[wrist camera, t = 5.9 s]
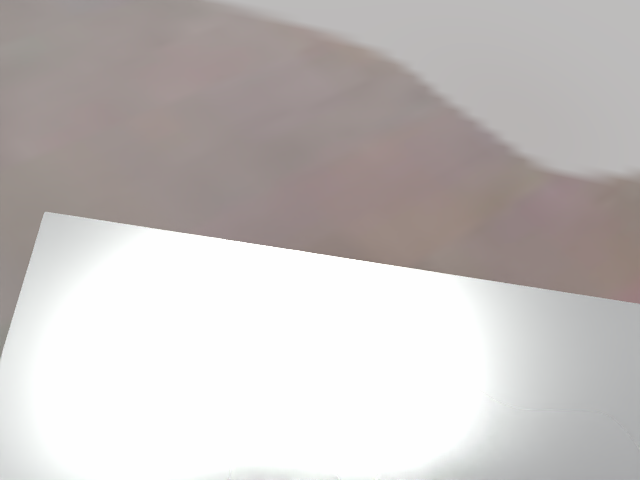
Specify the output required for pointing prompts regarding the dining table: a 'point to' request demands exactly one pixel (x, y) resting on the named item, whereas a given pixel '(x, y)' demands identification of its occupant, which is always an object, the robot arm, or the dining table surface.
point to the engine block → (303, 368)
